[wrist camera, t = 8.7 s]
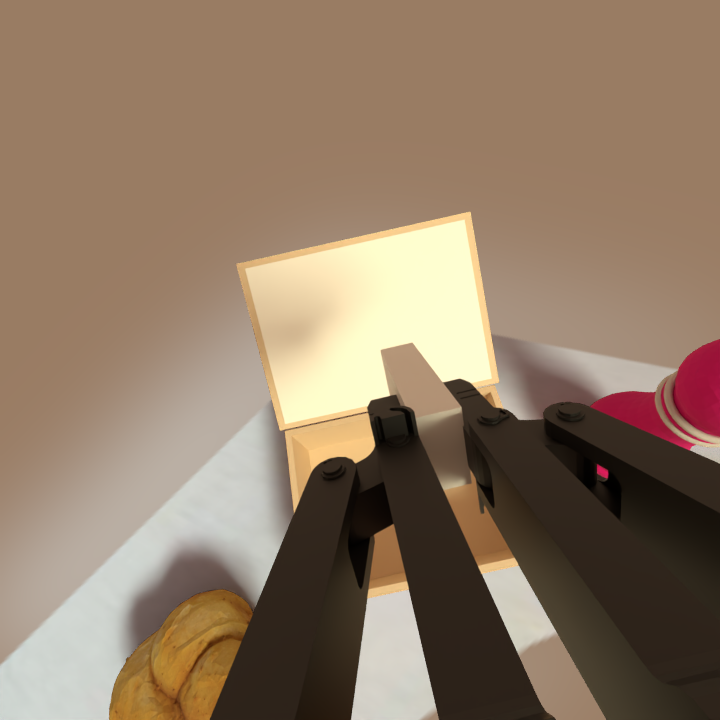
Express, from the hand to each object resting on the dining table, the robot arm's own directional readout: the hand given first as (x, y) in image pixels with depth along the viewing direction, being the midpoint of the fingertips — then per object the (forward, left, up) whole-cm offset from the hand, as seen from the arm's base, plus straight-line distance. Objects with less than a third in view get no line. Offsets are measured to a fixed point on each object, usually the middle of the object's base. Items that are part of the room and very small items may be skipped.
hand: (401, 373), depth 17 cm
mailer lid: (0, +9, -10) cm, 13 cm away
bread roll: (-20, -13, -22) cm, 32 cm away
